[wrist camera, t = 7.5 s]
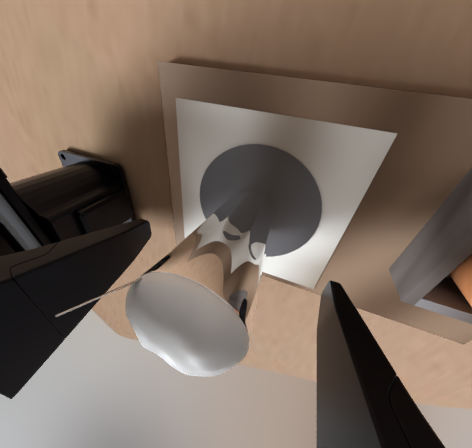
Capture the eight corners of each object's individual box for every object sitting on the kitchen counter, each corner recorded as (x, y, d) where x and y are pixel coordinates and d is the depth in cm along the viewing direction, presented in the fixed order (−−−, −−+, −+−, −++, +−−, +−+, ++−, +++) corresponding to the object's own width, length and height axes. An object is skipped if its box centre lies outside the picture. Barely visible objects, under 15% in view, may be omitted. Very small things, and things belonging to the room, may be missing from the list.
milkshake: (252, 152, 11) (84, 304, 3) (299, 227, 13) (259, 454, 5) (199, 189, 14) (34, 323, 6) (243, 247, 15) (158, 416, 7)
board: (181, 240, 19) (159, 263, 16) (166, 62, 11) (121, 55, 9) (457, 332, 14) (486, 386, 11) (768, 134, 6) (1059, 165, 4)
